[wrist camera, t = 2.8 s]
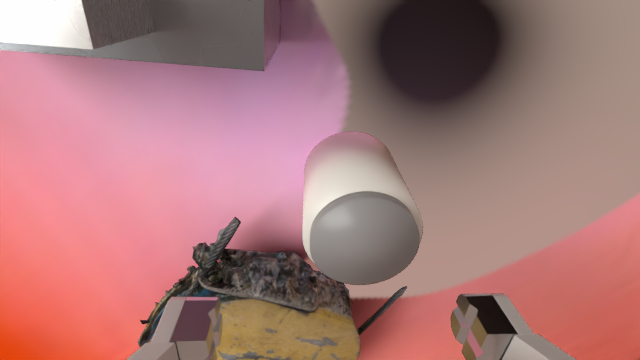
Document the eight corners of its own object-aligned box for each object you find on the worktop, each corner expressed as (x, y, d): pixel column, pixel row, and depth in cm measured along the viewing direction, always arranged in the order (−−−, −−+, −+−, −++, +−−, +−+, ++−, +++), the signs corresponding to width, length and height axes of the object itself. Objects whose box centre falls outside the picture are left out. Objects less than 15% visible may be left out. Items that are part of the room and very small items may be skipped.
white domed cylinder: (402, 134, 17) (442, 196, 12) (385, 212, 20) (412, 291, 15) (307, 128, 17) (306, 188, 12) (301, 208, 20) (298, 287, 14)
